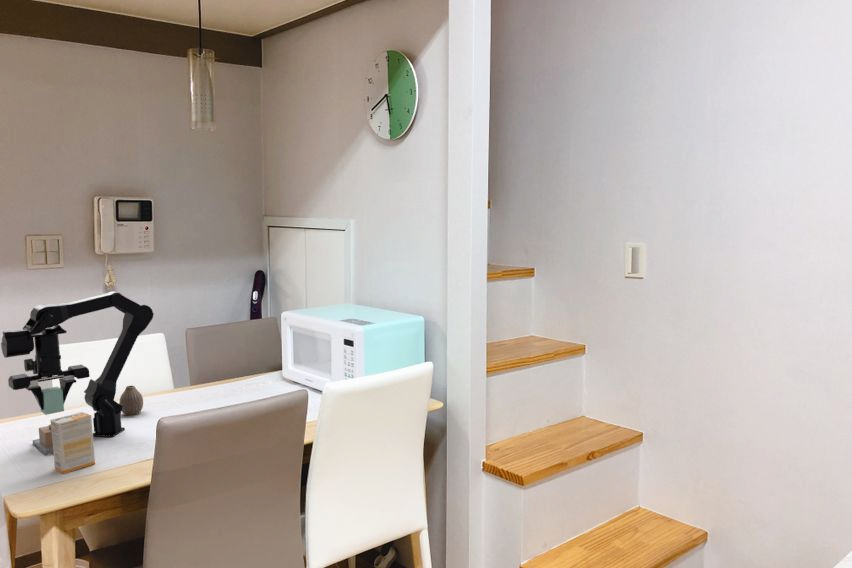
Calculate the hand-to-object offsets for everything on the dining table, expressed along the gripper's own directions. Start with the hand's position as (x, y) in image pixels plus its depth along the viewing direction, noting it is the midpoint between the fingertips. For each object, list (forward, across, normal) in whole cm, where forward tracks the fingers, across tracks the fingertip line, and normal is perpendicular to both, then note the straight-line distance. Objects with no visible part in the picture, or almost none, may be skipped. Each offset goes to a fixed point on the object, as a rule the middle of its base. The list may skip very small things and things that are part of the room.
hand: (52, 407), depth 190 cm
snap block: (+1, 0, 0) cm, 1 cm away
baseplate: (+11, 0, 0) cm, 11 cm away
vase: (+11, -26, -14) cm, 31 cm away
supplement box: (+11, +1, +21) cm, 23 cm away
